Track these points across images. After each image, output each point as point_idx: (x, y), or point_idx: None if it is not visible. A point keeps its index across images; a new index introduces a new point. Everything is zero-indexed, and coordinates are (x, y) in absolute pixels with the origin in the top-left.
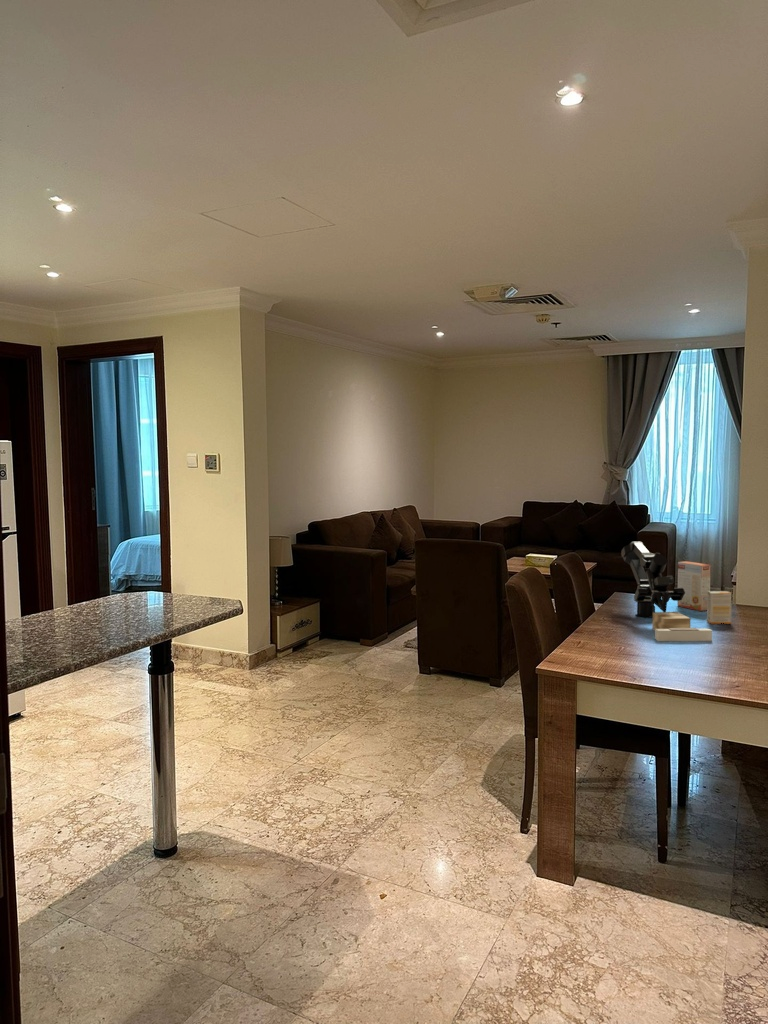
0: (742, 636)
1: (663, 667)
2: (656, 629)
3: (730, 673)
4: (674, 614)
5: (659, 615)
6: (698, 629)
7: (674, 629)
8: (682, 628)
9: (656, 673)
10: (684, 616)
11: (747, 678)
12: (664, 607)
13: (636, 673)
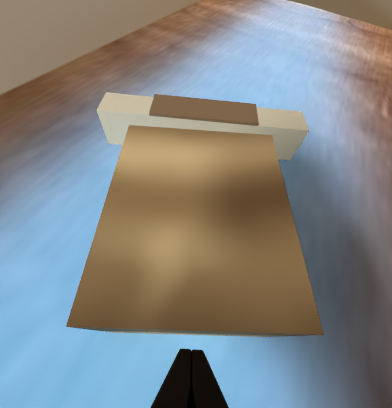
0: None
1: (305, 36)
2: (305, 124)
3: (217, 15)
4: (161, 224)
5: (283, 208)
6: (147, 105)
7: (242, 106)
8: (206, 111)
9: (319, 26)
10: (130, 163)
11: (205, 6)
12: (190, 385)
13: (347, 29)
